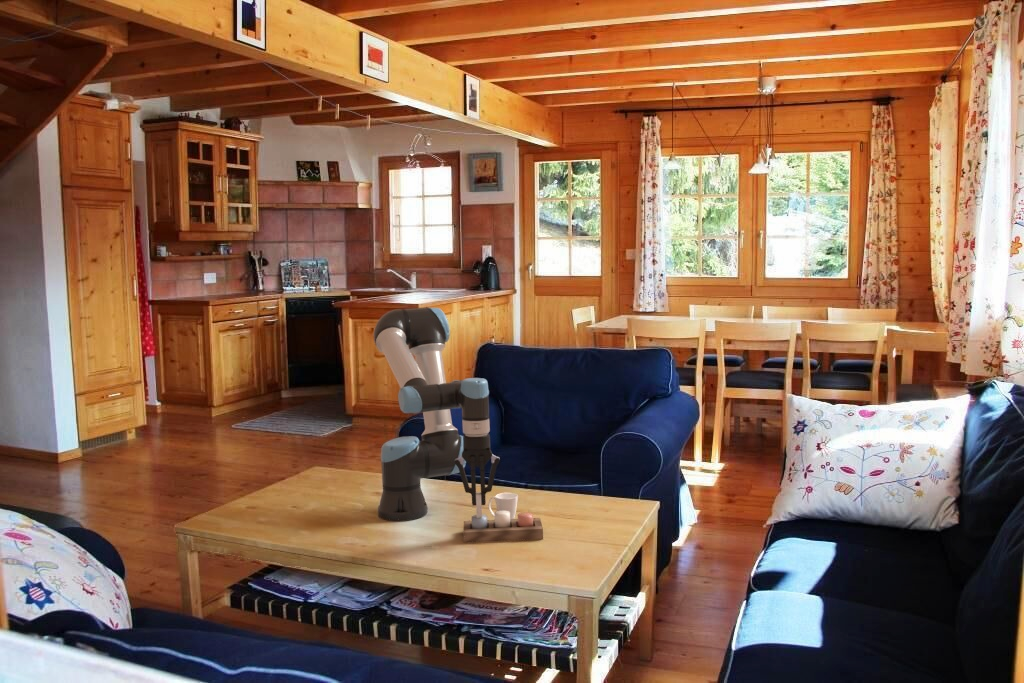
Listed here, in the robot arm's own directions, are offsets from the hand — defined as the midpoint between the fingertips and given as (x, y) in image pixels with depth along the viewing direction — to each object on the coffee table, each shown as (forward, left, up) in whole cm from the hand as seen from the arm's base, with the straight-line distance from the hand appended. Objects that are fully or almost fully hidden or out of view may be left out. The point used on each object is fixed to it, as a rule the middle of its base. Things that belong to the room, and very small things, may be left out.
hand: (479, 516), depth 245 cm
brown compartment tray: (+4, +5, -6) cm, 9 cm away
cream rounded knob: (+4, +5, -3) cm, 7 cm away
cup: (-4, +14, -6) cm, 16 cm away
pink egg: (+9, +9, -4) cm, 14 cm away
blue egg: (0, 0, -4) cm, 4 cm away
